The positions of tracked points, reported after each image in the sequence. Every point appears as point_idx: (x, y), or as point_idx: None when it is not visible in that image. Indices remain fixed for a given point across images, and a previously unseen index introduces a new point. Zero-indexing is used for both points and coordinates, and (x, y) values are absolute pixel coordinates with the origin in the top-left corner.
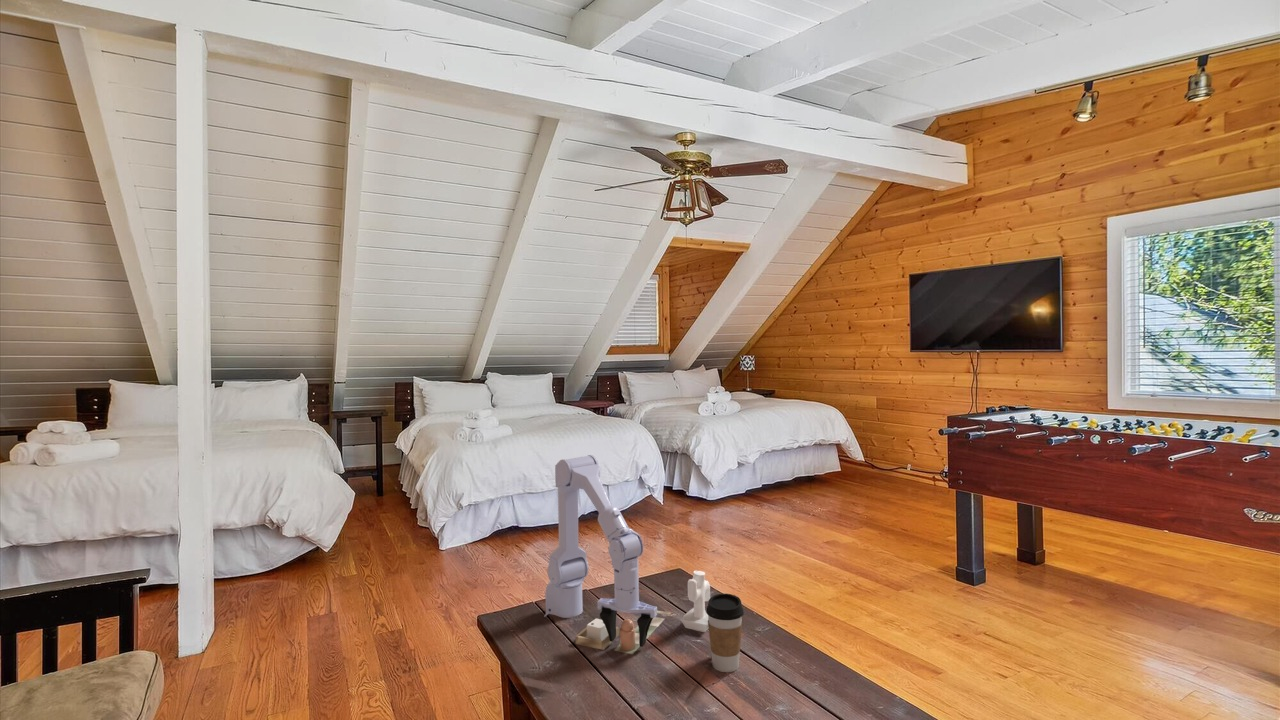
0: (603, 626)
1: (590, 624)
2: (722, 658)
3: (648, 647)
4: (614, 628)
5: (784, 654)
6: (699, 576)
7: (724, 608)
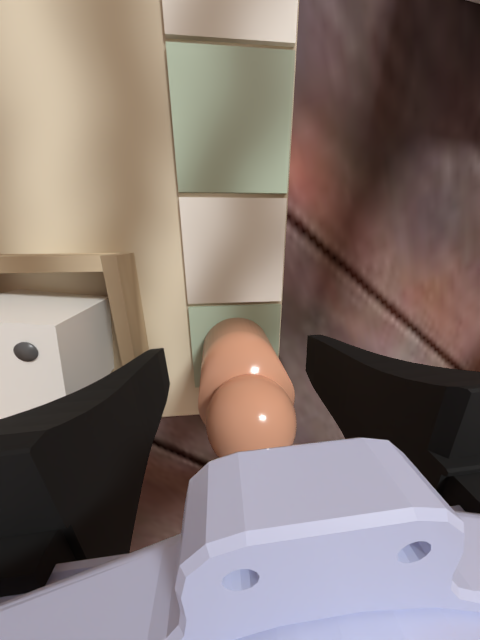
0: (66, 393)
1: None
2: None
3: (296, 268)
4: (147, 386)
5: None
6: None
7: None
